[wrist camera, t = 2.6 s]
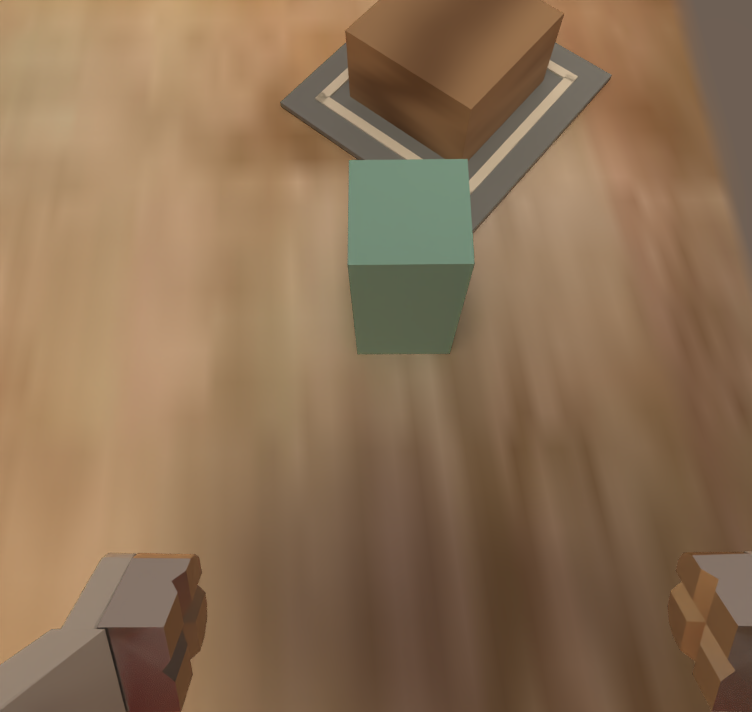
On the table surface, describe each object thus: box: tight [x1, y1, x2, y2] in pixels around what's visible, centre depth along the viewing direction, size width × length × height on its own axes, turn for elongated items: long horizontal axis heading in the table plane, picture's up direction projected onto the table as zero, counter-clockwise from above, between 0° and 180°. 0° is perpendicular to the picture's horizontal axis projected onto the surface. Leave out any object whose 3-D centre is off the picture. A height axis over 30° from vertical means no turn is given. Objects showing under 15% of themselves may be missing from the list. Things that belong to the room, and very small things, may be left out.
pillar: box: [348, 159, 475, 354], centre depth 24 cm, size 4×4×8 cm
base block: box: [345, 0, 564, 160], centre depth 30 cm, size 7×7×4 cm
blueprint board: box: [280, 43, 612, 233], centre depth 32 cm, size 12×12×1 cm
